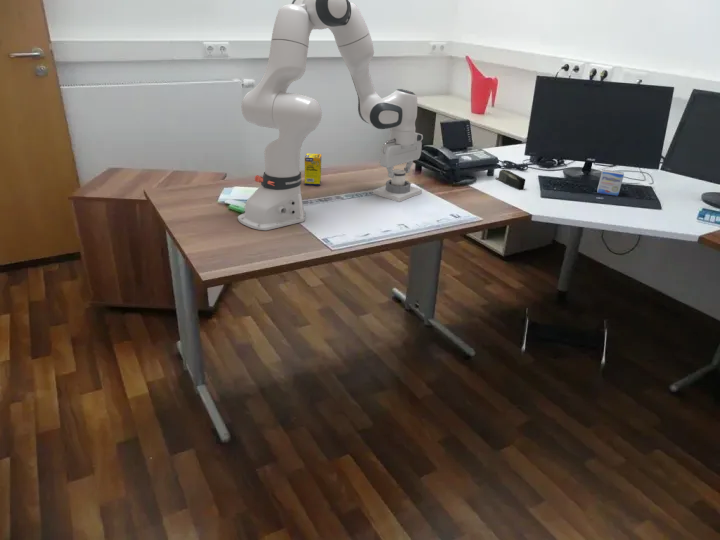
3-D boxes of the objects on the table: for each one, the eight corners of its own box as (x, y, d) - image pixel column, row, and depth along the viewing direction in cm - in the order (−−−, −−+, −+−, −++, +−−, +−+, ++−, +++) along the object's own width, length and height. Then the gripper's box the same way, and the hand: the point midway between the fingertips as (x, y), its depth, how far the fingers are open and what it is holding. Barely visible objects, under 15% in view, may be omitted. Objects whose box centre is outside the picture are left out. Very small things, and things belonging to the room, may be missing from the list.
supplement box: (320, 186, 210) (320, 158, 205) (304, 185, 210) (304, 157, 205) (321, 181, 216) (321, 153, 211) (306, 180, 216) (306, 153, 211)
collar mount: (399, 202, 199) (399, 191, 197) (373, 193, 205) (373, 183, 203) (421, 193, 208) (422, 183, 206) (396, 185, 215) (396, 175, 213)
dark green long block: (527, 178, 215) (501, 166, 227) (521, 179, 214) (495, 167, 226) (524, 190, 218) (499, 178, 229) (518, 191, 216) (493, 179, 228)
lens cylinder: (398, 192, 203) (400, 174, 200) (387, 189, 206) (389, 171, 203) (407, 189, 206) (408, 171, 203) (396, 186, 209) (397, 168, 206)
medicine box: (596, 193, 218) (602, 171, 214) (597, 189, 222) (602, 168, 218) (618, 196, 215) (624, 174, 211) (618, 192, 219) (623, 171, 215)
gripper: (391, 143, 188) (388, 182, 194) (425, 134, 202) (422, 171, 208) (376, 139, 191) (374, 178, 197) (411, 131, 205) (408, 168, 211)
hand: (399, 174), depth 203 cm, fingers open, 8 cm apart
